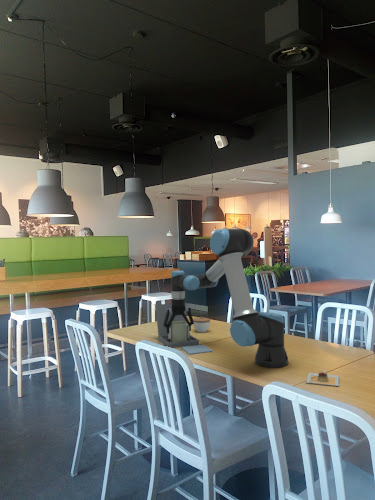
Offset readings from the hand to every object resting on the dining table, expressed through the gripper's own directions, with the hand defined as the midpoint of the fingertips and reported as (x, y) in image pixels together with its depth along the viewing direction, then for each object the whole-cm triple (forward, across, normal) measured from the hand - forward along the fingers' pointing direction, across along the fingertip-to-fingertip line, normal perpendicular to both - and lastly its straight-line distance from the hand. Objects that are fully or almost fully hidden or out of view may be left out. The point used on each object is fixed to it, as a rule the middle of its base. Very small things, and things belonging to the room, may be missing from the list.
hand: (178, 338), depth 223 cm
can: (+3, 0, 0) cm, 3 cm away
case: (+3, 0, -4) cm, 5 cm away
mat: (+3, -4, +17) cm, 18 cm away
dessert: (+4, -35, +79) cm, 86 cm away
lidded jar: (+3, -22, -21) cm, 31 cm away
